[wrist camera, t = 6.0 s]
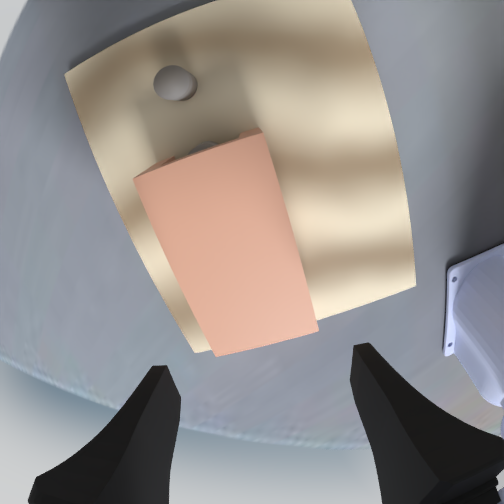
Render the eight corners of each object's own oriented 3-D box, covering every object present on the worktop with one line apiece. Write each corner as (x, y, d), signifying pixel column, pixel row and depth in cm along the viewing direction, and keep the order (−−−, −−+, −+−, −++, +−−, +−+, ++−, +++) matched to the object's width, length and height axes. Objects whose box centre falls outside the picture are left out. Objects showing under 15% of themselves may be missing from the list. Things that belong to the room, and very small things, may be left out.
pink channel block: (306, 290, 19) (319, 331, 16) (220, 313, 20) (215, 357, 16) (258, 127, 15) (263, 132, 12) (157, 162, 16) (132, 178, 12)
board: (411, 279, 20) (432, 306, 17) (196, 345, 22) (190, 378, 19) (335, -21, 12) (353, -43, 9) (70, 74, 14) (40, 72, 11)
